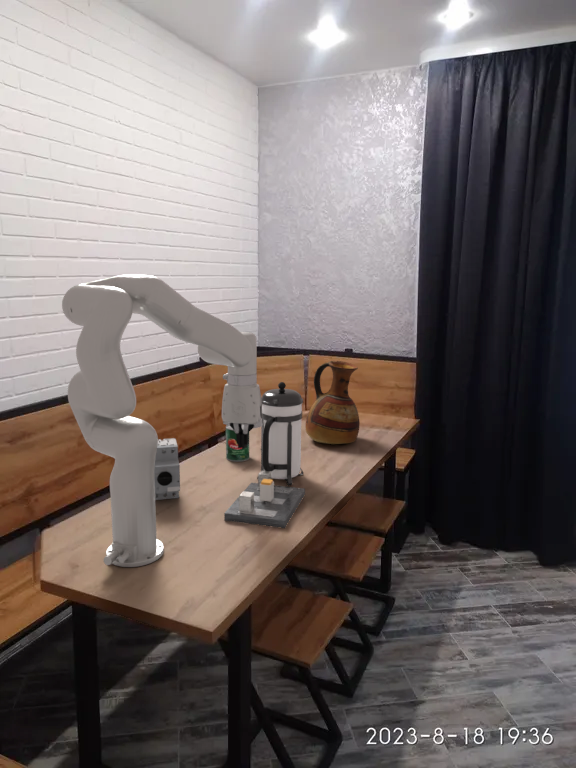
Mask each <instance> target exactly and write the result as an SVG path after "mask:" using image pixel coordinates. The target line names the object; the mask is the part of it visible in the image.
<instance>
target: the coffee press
mask: <svg viewBox="0 0 576 768" xmlns="http://www.w3.org/2000/svg"><path fill="white" fill-rule="evenodd" d="M277 386H278V388H272V389H269V390H267V391H265V392H264V393H263V394H262V395H261V400H262V419H261V420H262V424H263V425H262V426H261V427H260V428H261V429H260V430H261V433H260V434H261V435H260V436H261V438H260V439H261V440H260V441H261V446H260V454H261V455H260V472H261V471H271V472H272V474H271V479H273V480H274V479H275V480H284V481H285V483H286V486H287V485H288V486H287V487H290V486H293V478H295V477H297V476H301V475H302V476H304V471H303V469H302V468H301V463H302V461H301V459H302V457H301V456H302V453H301V452H302V445H301V444H302V419H303V407H302V405H303V403H304V398H303V397H302V395H301V393H299V392H298V391H297V390H295V389H290V388H286V387H287V386H286V383H285V382H284V381H280V382H279V383H278V385H277ZM300 472H301V473H300ZM257 480H258V476H257ZM289 485H290V486H289Z"/></svg>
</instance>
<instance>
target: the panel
mask: <svg viewBox="0 0 576 768" xmlns="http://www.w3.org/2000/svg"><path fill="white" fill-rule="evenodd" d="M271 474H272V472H271V471H261V470H260V471H259V472H258V474H257V477H258V479H257V482H250V484H249V485H248V486H247V487H246V488H245V489H244V490H243V491H242V492H241V493H240V494H239V496H238V497H237V498H236V499H235V500H234V501H233V502H232V504H231V505H230V506H229V507H228V508H227V509H226V510H225V512H224V513H223V515H224V517H223V518H224V520H223V521H225V522H233V523H240V524H248V525H255V524H259V525H258V526H263V525H266V526H265V527H270V526H272V527H271V528H278V527H281V528H280V529H286V527H287V526H286V525H288V524H289V522H290V521H291V519H292V517H293V516H294V514H295V512H296V511H295V510H297V509H298V507H299V506H300V504H301V503H302V501H303V499H304V498H305V496H306V488H303V487H302V488H301V487H293V486H287V485H285V486H284V485H276V484H274V498H273V499H272V500H271V502H269V501H261V500H260V484H261V481H262V480H263V479H271V480H272V478H271ZM304 495H305V496H304ZM303 497H304V498H303ZM302 498H303V499H302ZM301 500H302V501H301ZM299 503H300V504H299ZM298 505H299V506H298ZM296 508H297V509H296ZM293 513H294V514H293ZM292 515H293V516H292ZM290 518H291V519H290ZM289 520H290V521H289ZM287 523H288V524H287Z"/></svg>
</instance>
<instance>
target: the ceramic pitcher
mask: <svg viewBox="0 0 576 768" xmlns="http://www.w3.org/2000/svg"><path fill="white" fill-rule="evenodd" d="M328 367H329V368H330V369H331V372H332V382H331V386H330V388H329V390H328V391H327V392H323V391H322V387H321V377H322V374H323V371H324V370H325V369H326V368H328ZM357 370H358V366H356V365H355V364H352V363H349V362H346V361H342V360H341V361H340V360H331V361H328V362H324V363H322V364H321V365H319V366H318V368H317V369H316V371H315V373H314V376H313V387H314V391H315V395H316V396H315V397H316V398H315V401H314V402H313V404H312V405H311V407H310V408H309V411H308V413H307V415H306V420H305V426H304V427H305V432H306V435H307V436H309V438H310V439H312V440H313V441H315V442H317V443H321V444H328V445H330V444H331V445H343V444H351V443H354V442H355V441H356V440H357V439H358V436H359V431H360V426H361V423H360V416H359V415H360V414H359V411H358V407H357V405H356V403H355V402H354V400H353V399H352V398H351V397H350V396H349V395H350V394H349V389H348V388H349V385H350V379H351V377H352V375H353V373H354V372H355V371H357Z"/></svg>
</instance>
